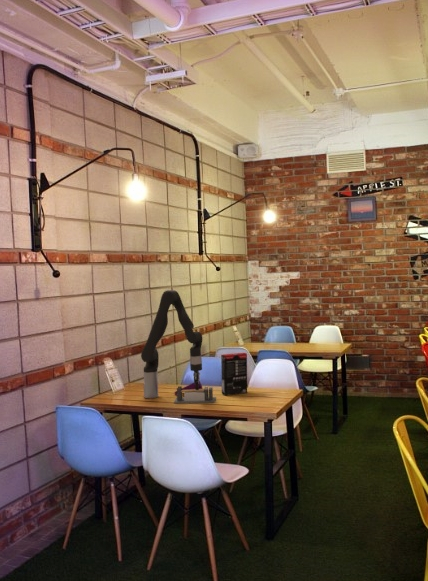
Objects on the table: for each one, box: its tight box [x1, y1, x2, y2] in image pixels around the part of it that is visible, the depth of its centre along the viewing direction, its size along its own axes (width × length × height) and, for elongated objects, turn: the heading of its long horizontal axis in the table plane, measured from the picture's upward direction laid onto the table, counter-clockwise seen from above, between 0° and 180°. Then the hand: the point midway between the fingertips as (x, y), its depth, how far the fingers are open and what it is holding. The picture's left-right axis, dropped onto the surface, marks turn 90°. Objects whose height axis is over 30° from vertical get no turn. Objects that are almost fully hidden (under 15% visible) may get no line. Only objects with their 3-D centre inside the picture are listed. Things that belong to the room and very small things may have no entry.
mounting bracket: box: [173, 380, 204, 396], centre depth 390 cm, size 9×8×18 cm
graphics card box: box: [220, 352, 248, 396], centre depth 388 cm, size 17×7×27 cm, turn 115°
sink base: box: [173, 385, 217, 404], centre depth 370 cm, size 26×13×9 cm, turn 86°
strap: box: [181, 386, 209, 393], centre depth 370 cm, size 19×3×2 cm, turn 86°
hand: (197, 389), depth 370 cm, fingers closed
